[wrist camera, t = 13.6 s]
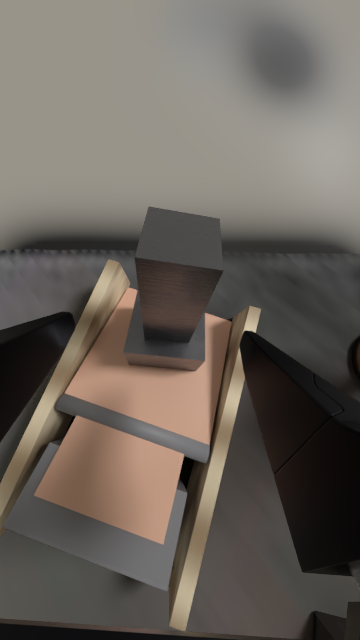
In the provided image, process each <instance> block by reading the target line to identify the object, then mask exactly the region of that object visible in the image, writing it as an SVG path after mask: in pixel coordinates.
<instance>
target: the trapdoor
mask: <svg viewBox="0 0 360 640" xmlns="http://www.w3.org/2000/svg"><path fill="white" fill-rule="evenodd" d="M136 295H137V290H135V289H132V288H129V287H128V288H127V290H126V292H125V293H124V295H123V297H122V298H121V300H120V302H119V303H118V305H117V307H116V308H115V310H114V312H113V313H112V315H111V317H110V318H109V320H108V322H107V323H106V325H105V326H104V328H103V330H102V331H101V333H100V335H99V336H98V338H97V340H96V341H95V343H94V345H93V346H92V348H91V350H90V351H89V353H88V355H87V356H86V358H85V360H84V361H83V363H82V365H81V366H80V368H79V370H78V371H77V373H76V375H75V376H74V378H73V380H72V381H71V383H70V384H69V386H68V388H67V389H66V391H65V393H64V394H63V395H62V396H61V397H60V398H59V400H58V402H57V404H56V410H59V411H61V412H64V413H67V414H70V415H72V416H75V419H74V421H73V423H72V425H71V427H70V428H69V430H68V432H67V434H66V436H65V438H64V439H61V440H57V441H53V442H50V443H49V445H48V446H47V448H46V450H45V452H44V453H43V455H42V457H41V459H40V460H39V462H38V464H37V466H36V468H35V469H34V471H33V473H32V475H31V476H30V478H29V480H28V482H27V483H26V485H25V487H24V489H23V490H22V492H21V494H20V496H19V498H18V499H17V501H16V503H15V505H14V506H13V508H12V510H11V512H10V513H9V515H8V517H7V519H6V520H5V522H4V524H3V526H2V527H3V528H5V529H8V530H10V531H13V532H16V533H18V534H21V535H23V536H26V537H28V538H31V539H33V540H36V541H39V542H41V543H44V544H46V545H49V546H51V547H54V548H56V549H59V550H62V551H64V552H67V553H69V554H72V555H74V556H77V557H80V558H82V559H85V560H87V561H90V562H92V563H95V564H97V565H100V566H103V567H105V568H108V569H110V570H113V571H115V572H118V573H121V574H123V575H126V576H128V577H131V578H133V579H136V580H138V581H141V582H144V583H146V584H149V585H151V586H154V587H156V588H159V589H162V590H164V591H167V590H168V585H169V580H170V575H171V570H172V566H173V561H174V556H175V551H176V546H177V542H178V537H179V532H180V527H181V522H182V517H183V513H184V508H185V503H186V498H187V491H186V489H185V486H184V484H183V482H182V480H181V479H179V475H180V471H181V467H182V463H183V458H184V456H186V457H188V458H191V459H194V460H197V461H199V462H202V463H206V462H207V460H208V457H209V451H210V440H211V435H212V429H213V423H214V418H215V412H216V407H217V401H218V395H219V390H220V384H221V378H222V373H223V367H224V362H225V356H226V350H227V345H228V339H229V334H230V328H231V321H228V320H225V319H222V318H219V317H216V316H213V315H210V314H207V313H205V362H204V363H203V364H202V365H201V366H200V367H199V368H198V369H197V370H196V371H188V370H177V369H167V368H157V367H147V366H136V365H129V364H128V362H127V360H126V357H125V355H124V353H123V351H124V346H125V342H126V338H127V334H128V329H129V325H130V321H131V316H132V312H133V308H134V303H135V299H136Z"/></svg>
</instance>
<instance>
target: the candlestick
mask: <svg viewBox="0 0 360 640" xmlns="http://www.w3.org/2000/svg"><path fill="white" fill-rule="evenodd" d="M352 360H353V366H354V369H355V372H356V374H357V376H358V378H359V380H360V337H359V338H358V340H357V341H356V343H355V345H354V348H353V353H352Z"/></svg>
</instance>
